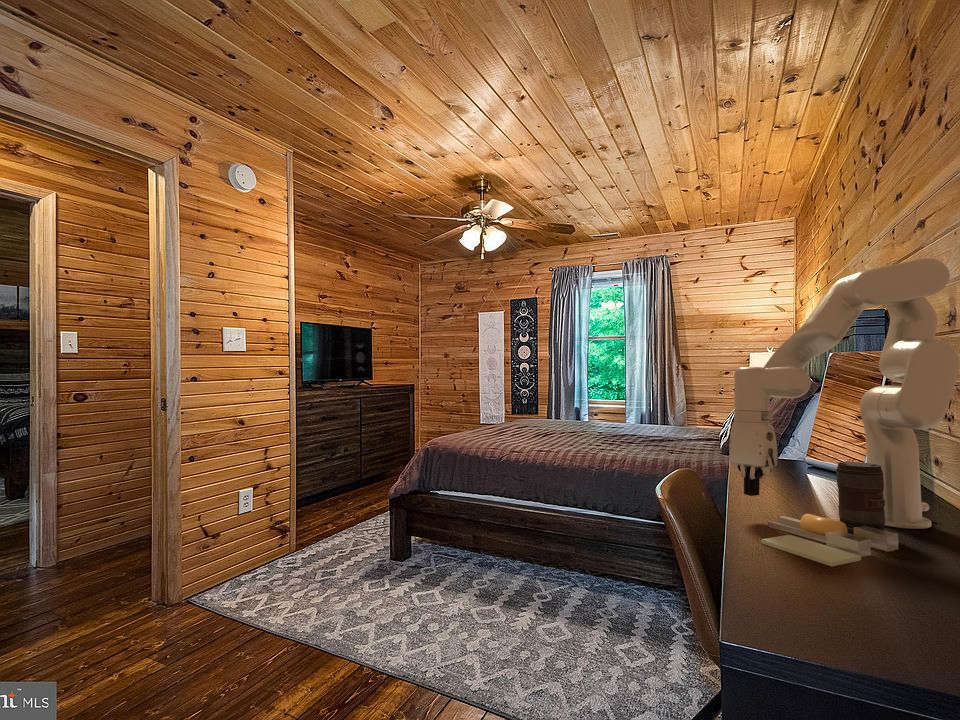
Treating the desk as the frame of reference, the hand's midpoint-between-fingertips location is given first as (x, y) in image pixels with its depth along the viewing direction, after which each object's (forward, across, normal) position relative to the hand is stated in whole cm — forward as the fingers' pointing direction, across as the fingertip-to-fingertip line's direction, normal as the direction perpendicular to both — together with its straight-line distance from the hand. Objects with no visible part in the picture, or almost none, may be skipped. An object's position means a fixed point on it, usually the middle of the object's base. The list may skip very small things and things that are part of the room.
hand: (751, 494), depth 120 cm
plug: (+6, -14, -1) cm, 15 cm away
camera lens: (+5, -18, -11) cm, 22 cm away
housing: (+6, -16, -1) cm, 17 cm away
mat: (+6, -21, +10) cm, 24 cm away
